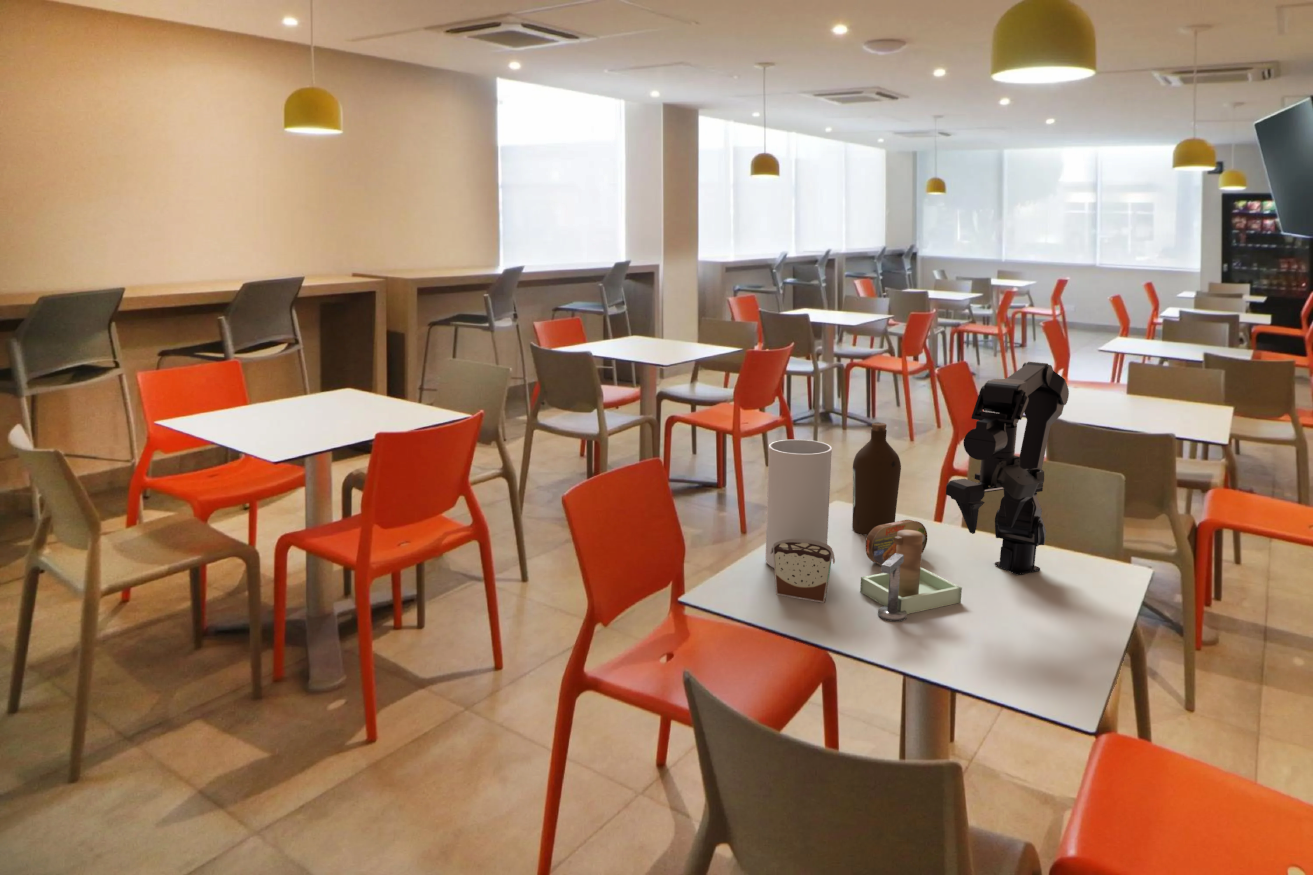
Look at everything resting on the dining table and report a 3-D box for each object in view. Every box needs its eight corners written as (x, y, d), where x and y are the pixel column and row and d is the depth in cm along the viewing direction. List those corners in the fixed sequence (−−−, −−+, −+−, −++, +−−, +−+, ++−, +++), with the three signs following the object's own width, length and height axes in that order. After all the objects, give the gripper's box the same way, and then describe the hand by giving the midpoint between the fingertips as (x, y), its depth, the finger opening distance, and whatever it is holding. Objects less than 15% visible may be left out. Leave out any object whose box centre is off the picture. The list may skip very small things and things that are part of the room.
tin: (871, 569, 194) (873, 529, 192) (861, 564, 197) (863, 525, 195) (927, 557, 201) (930, 519, 199) (916, 552, 203) (919, 515, 201)
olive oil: (901, 526, 220) (908, 421, 214) (890, 540, 211) (897, 431, 205) (856, 520, 225) (862, 417, 219) (843, 533, 215) (849, 425, 210)
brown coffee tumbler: (906, 587, 182) (910, 528, 179) (923, 595, 178) (928, 535, 175) (883, 593, 179) (887, 533, 176) (900, 601, 175) (905, 540, 172)
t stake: (883, 607, 175) (887, 550, 172) (910, 614, 172) (914, 555, 169) (868, 622, 168) (872, 562, 166) (895, 628, 166) (899, 568, 163)
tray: (918, 580, 188) (919, 566, 187) (960, 602, 177) (961, 587, 176) (860, 591, 182) (861, 577, 181) (900, 615, 171) (901, 599, 171)
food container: (840, 592, 182) (842, 543, 179) (832, 604, 176) (834, 553, 174) (778, 582, 187) (780, 533, 184) (768, 593, 181) (770, 543, 179)
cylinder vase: (836, 571, 193) (842, 451, 187) (780, 577, 189) (784, 456, 183) (810, 550, 204) (814, 437, 198) (756, 556, 201) (759, 441, 195)
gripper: (991, 464, 163) (983, 550, 167) (1070, 454, 171) (1061, 536, 174) (947, 450, 173) (940, 531, 177) (1023, 441, 181) (1016, 518, 184)
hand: (991, 529), depth 178 cm, fingers open, 9 cm apart
